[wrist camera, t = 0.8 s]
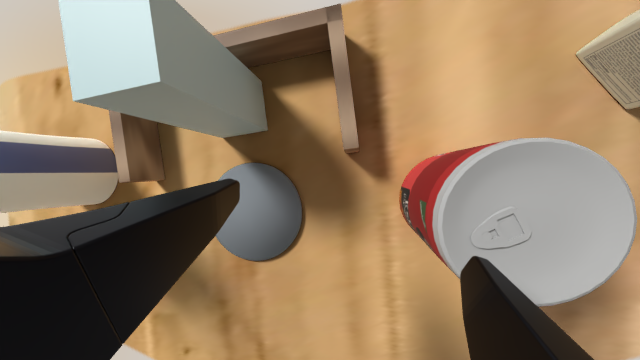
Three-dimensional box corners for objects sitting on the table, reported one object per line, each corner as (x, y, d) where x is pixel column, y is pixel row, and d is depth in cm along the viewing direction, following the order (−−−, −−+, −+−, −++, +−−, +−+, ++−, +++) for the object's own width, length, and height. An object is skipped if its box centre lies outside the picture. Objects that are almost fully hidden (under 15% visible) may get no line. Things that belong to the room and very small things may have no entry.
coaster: (249, 277, 24) (247, 279, 24) (193, 203, 25) (191, 203, 25) (322, 220, 23) (321, 220, 23) (260, 142, 24) (258, 142, 23)
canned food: (380, 193, 22) (401, 215, 11) (448, 135, 21) (547, 96, 10) (436, 256, 21) (518, 344, 11) (511, 199, 20) (688, 233, 9)
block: (267, 130, 24) (160, 81, 11) (223, 138, 24) (73, 101, 12) (261, 80, 23) (144, -28, 11) (216, 90, 24) (58, -1, 11)
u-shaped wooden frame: (358, 151, 22) (359, 147, 18) (155, 180, 26) (119, 182, 22) (343, 33, 22) (340, 3, 18) (141, 80, 26) (102, 63, 22)
